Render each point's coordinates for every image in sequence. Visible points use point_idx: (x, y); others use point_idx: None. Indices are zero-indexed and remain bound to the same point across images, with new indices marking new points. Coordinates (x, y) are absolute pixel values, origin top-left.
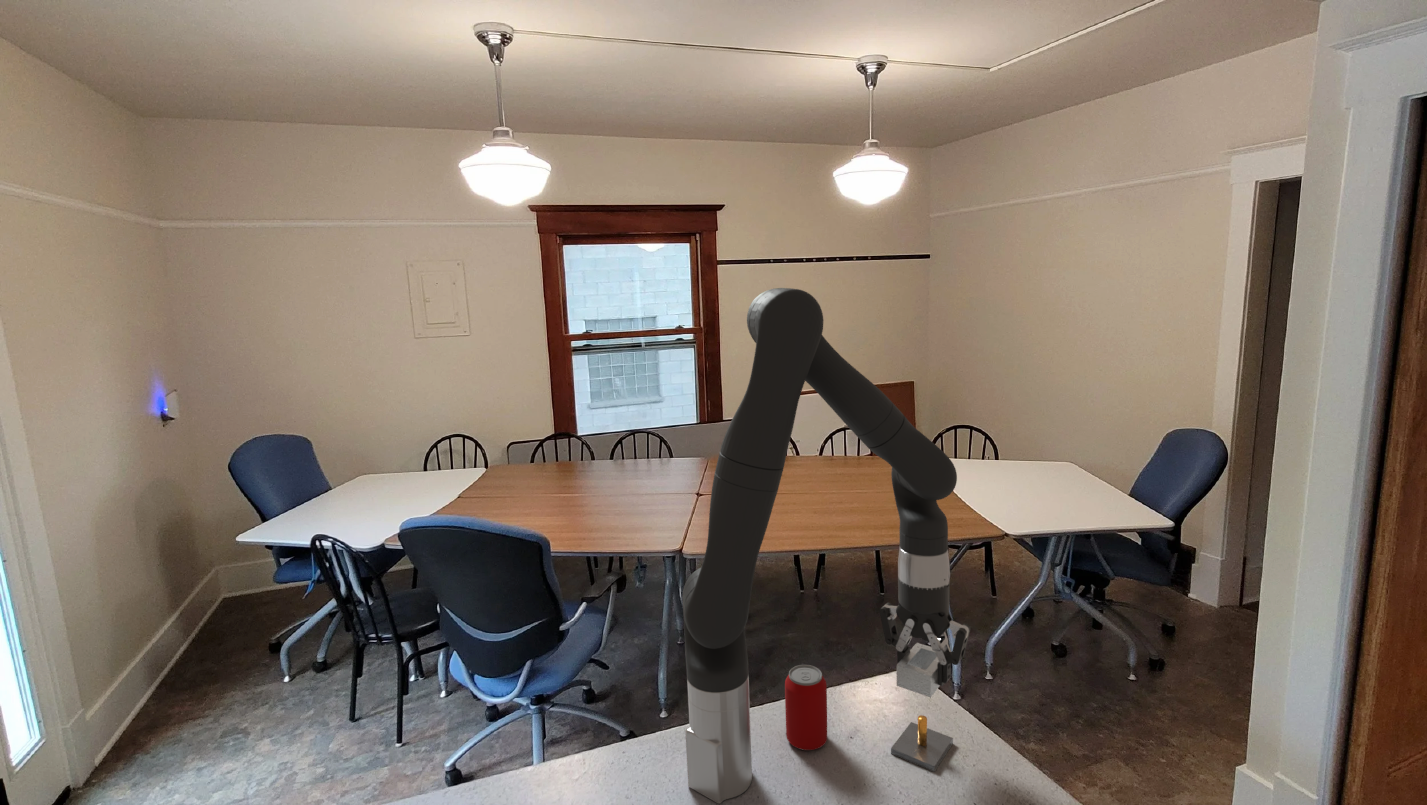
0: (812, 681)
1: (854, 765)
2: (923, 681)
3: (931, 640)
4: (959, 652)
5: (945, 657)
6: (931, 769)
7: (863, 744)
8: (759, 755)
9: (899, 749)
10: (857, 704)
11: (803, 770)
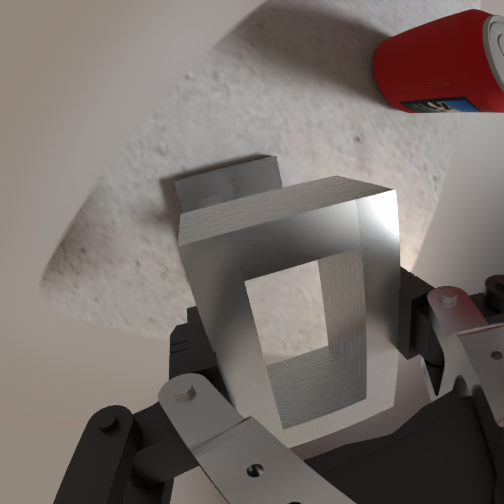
0: (491, 37)
1: (301, 72)
2: (220, 219)
3: (288, 483)
4: (69, 484)
5: (170, 420)
6: (180, 178)
7: (328, 138)
8: (415, 4)
9: (260, 166)
10: (400, 233)
11: (351, 7)
